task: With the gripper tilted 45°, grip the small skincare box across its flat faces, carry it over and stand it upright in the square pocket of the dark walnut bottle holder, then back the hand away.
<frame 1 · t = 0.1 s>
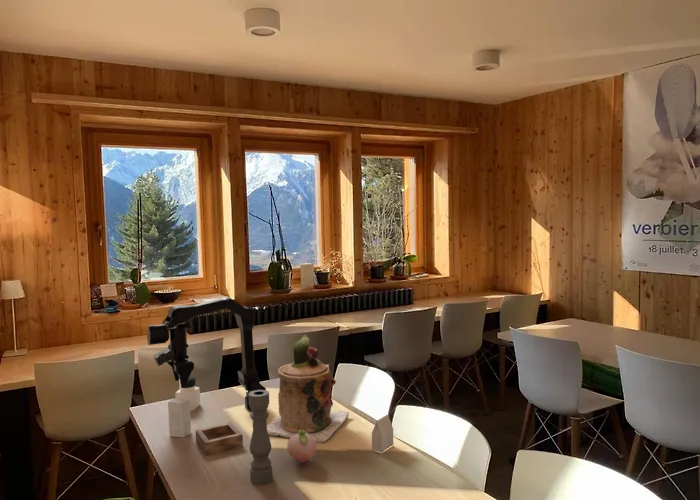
hand: (179, 384, 194), 15 cm above the table, tool pointing down, fingers open, 9 cm apart
walnut holder: (219, 444, 177), on the table
medicine bottle: (188, 408, 212), on the table
candle holder: (261, 480, 153), on the table
skincare box: (180, 435, 186), on the table
decorative fruit: (301, 463, 163), on the table
cookie jar: (307, 426, 191), on the table
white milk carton: (382, 449, 172), on the table
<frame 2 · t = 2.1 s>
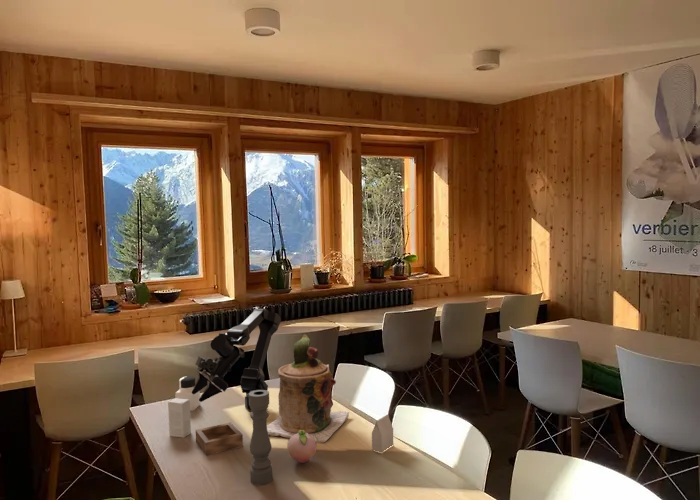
hand: (196, 397, 188), 12 cm above the table, tool tilted 45°, fingers open, 9 cm apart
nothing on the table moved.
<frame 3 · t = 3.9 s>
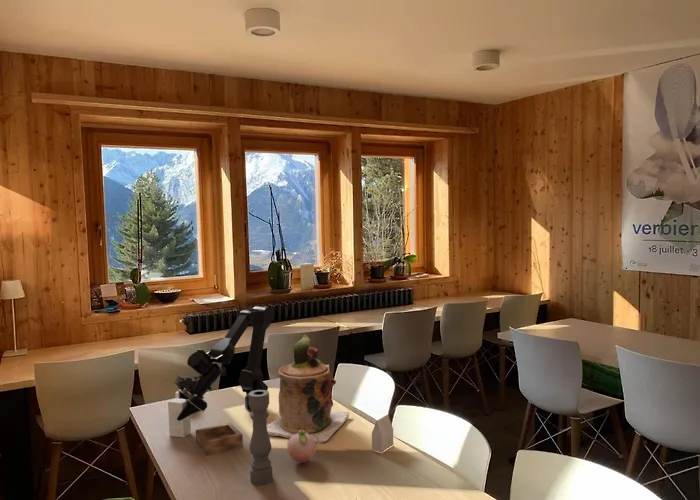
hand: (175, 416, 184), 7 cm above the table, tool tilted 45°, fingers closed on skincare box, 7 cm apart
skincare box: (180, 435, 186), on the table, touching gripper
everything else where it was.
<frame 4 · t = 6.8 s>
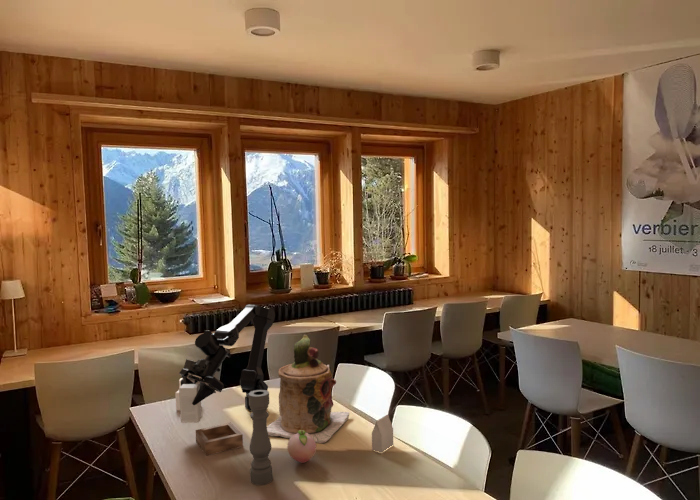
hand: (186, 402, 180), 13 cm above the table, tool tilted 45°, fingers closed on skincare box, 7 cm apart
skincare box: (191, 420, 182), point 6 cm above the table, touching gripper
everything else where it was.
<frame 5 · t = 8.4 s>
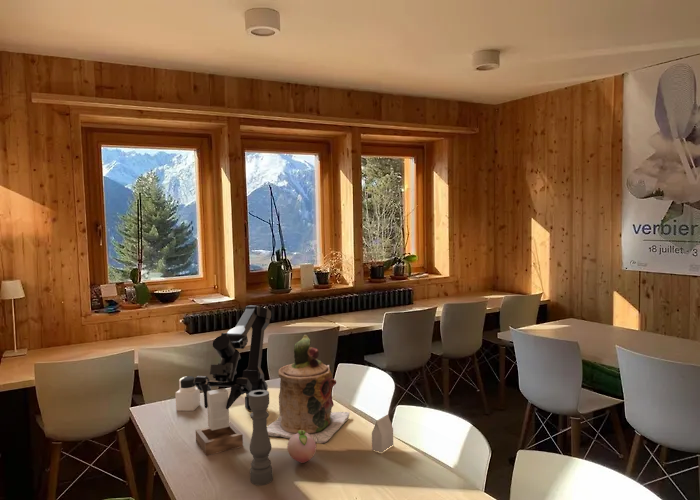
hand: (216, 408, 175), 12 cm above the table, tool tilted 45°, fingers closed on skincare box, 7 cm apart
skincare box: (218, 427, 177), point 6 cm above the table, touching gripper
everything else where it was.
when the fingers open (9 cm above the table, at t = 9.7 s): skincare box stays where it is, resting on walnut holder.
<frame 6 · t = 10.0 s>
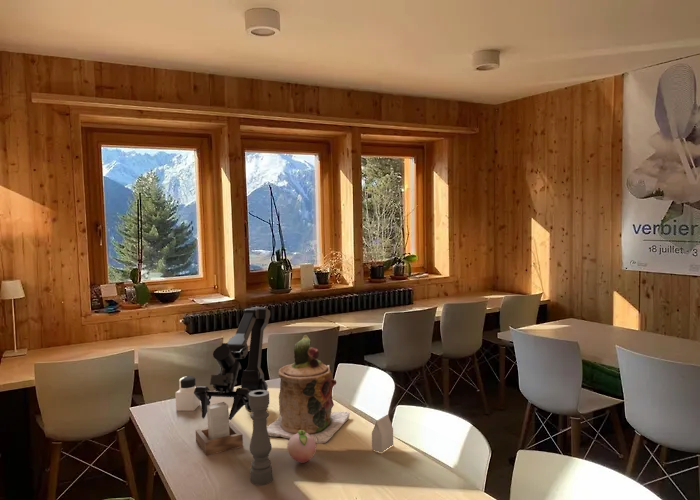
hand: (216, 418, 175), 9 cm above the table, tool tilted 45°, fingers open, 9 cm apart
skincare box: (219, 441, 177), point 1 cm above the table, touching walnut holder
everything else where it was.
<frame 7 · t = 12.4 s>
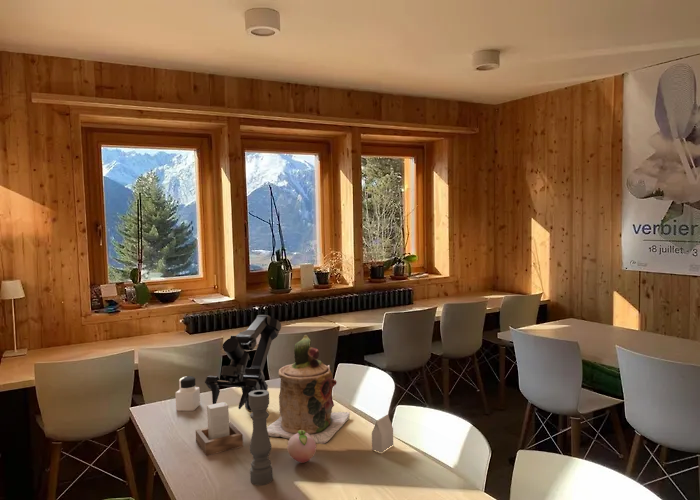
hand: (226, 407, 185), 9 cm above the table, tool tilted 45°, fingers open, 9 cm apart
nothing on the table moved.
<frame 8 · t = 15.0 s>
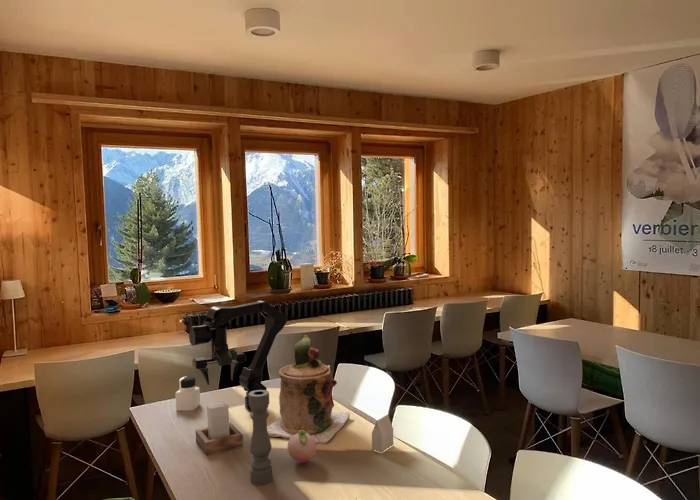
hand: (220, 382, 200), 13 cm above the table, tool pointing down, fingers open, 9 cm apart
at the end: skincare box 0.3 cm off-centre on the walnut holder, point 0.8 cm above the walnut holder's base; skincare box tilted 0°; the gripper is holding nothing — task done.
